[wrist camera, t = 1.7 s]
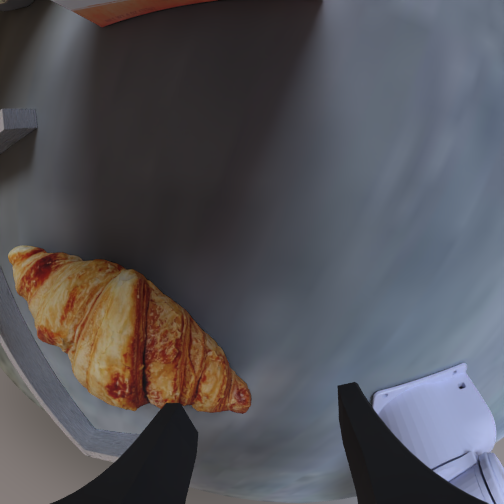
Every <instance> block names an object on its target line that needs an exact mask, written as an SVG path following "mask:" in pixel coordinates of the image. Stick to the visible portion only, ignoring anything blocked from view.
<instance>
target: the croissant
mask: <svg viewBox="0 0 504 504" xmlns="http://www.w3.org/2000/svg"><path fill="white" fill-rule="evenodd" d="M8 258H9V261H10V263H11V264H12V265H13V276H14V281H15V284H16V286H15V287H16V290H17V293H18V294H19V295H20V296H22V297H23V298H24V299H25V300H26V301H27V302H28V304H29V310H30V311H31V313H32V315H33V317H34V319H35V327H36V329H37V336H38V338H39V339H40V340H42V341H43V342H46V343H48V344H51V345H56V346H58V347H60V348H62V351H64V352H65V353H67V354H68V357H69V359H70V360H71V363H72V370H73V373H74V375H75V377H76V378H77V379H78V381H79V382H80V383H81V384H82V385H83V386H84V387H85V388H87V389H88V392H89V393H91V394H92V395H94V396H96V397H97V398H99V399H101V400H103V401H104V402H106V403H107V404H110V405H113V406H117V407H120V408H123V409H126V410H127V409H129V410H132V411H136V410H137V408H139V407H141V406H143V405H145V404H148V403H151V404H154V405H155V406H157V407H159V408H161V409H162V407H163V406H164V405H165V404H166V403H181V405H183V406H185V405H192V407H193V408H194V409H196V410H197V411H204V412H210V413H213V412H221V411H227V410H230V411H233V412H236V413H242V414H243V413H246V412H247V410H248V409H249V407H250V406H251V394H250V391H249V389H248V387H247V384H246V383H245V382H244V381H243V380H242V379H241V378H240V377H238V376H237V375H236V374H235V371H233V370H232V369H231V368H230V367H229V362H228V361H227V358H226V356H225V354H224V351H223V350H222V348H221V347H219V346H218V345H217V343H216V342H215V341H214V340H213V339H212V338H211V337H210V336H209V335H208V334H207V333H205V332H204V331H203V330H202V329H201V328H200V327H199V326H198V324H197V323H196V322H195V321H194V320H193V319H192V317H191V316H190V315H189V313H188V312H187V311H186V310H185V309H184V308H183V307H181V306H180V305H178V304H177V303H176V302H174V301H173V300H172V299H171V298H169V297H168V296H167V295H164V294H163V293H162V292H161V291H160V290H159V289H158V288H157V287H156V286H155V285H154V284H153V283H152V282H151V281H149V280H147V279H146V278H145V277H144V275H143V274H141V273H139V272H137V271H135V270H134V269H128V270H126V269H125V268H124V267H122V266H121V265H119V264H117V263H113V262H110V261H107V260H103V259H95V260H93V261H92V260H89V261H82V259H81V258H80V257H78V256H74V255H68V254H66V253H63V252H62V253H47V252H46V251H45V250H44V249H41V248H38V247H33V246H18V247H15V248H14V249H12V250H11V251H10V253H9V254H8Z"/></svg>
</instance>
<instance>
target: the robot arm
mask: <svg viewBox="0 0 504 504" xmlns="http://www.w3.org/2000/svg"><path fill="white" fill-rule="evenodd" d="M466 369H467V365H466V363H462V364H459V365H457V366H454V367H452V368H449V369H446V370H444V371H441V372H438V373H435V374H433V375H430V376H427V377H424V378H421V379H418V380H415V381H412V382H408V383H405V384H402V385H398V386H395V387H392V388H388V389H384V390H381V391H378V392H376V393H375V394H374V395H373V404H372V406H371V405H370V403H369V402H368V400H367V399H366V397H365V396H364V394H363V392H362V391H361V389H360V387H359V385H358V384H357V383H355V382H353V383H348V384H344V385H339V386H338V405H339V422H340V428H341V434H342V440H343V445H344V448H345V452H346V456H347V459H348V463H349V467H350V470H351V474H352V478H353V482H354V485H355V489H356V494H357V499H358V504H504V468H503V466H502V464H501V462H500V461H499V459H498V457H497V456H496V455H495V454H494V453H490V452H491V451H492V449H493V447H494V444H495V440H496V426H495V421H494V418H493V415H492V413H491V411H490V409H489V408H488V406H487V404H486V403H485V401H484V400H483V398H482V396H481V395H480V393H479V392H478V390H477V389H476V387H475V385H474V384H473V382H472V381H471V379H470V378H469V376H468V375H467V373H466ZM197 442H198V432H197V430H196V429H195V427H194V425H193V424H192V422H191V420H190V419H189V417H188V415H187V414H186V412H185V410H184V408H183V407H182V405H181V403H166V404H165V405H164V406H163V407H162V409H161V410H160V411H159V412H158V413H157V415H156V416H155V417H154V418H153V420H152V421H151V422H150V423H149V425H148V426H147V427H146V428H145V430H144V431H143V432H142V433H141V434H140V435H139V437H138V438H137V439H136V440H135V441H134V442H133V444H132V445H131V446H130V447H129V448H128V449H127V450H126V451H125V452H124V453H123V454H122V455H121V456H120V457H119V458H118V459H117V460H116V461H115V462H114V463H113V464H112V465H111V466H110V467H109V468H108V469H106V470H105V471H104V472H103V473H102V474H100V475H99V476H98V477H97V478H95V479H94V480H92V481H91V482H89V483H88V484H87V485H85V486H84V487H82V488H81V489H79V490H77V491H76V492H74V493H72V494H70V495H68V496H66V497H65V498H63V499H60V500H58V501H56V502H53V503H51V504H185V501H186V496H187V492H188V488H189V484H190V480H191V476H192V472H193V467H194V463H195V458H196V453H197Z"/></svg>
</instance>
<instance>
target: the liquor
mask: <svg viewBox="0 0 504 504" xmlns="http://www.w3.org/2000/svg"><path fill="white" fill-rule="evenodd" d="M33 1H34V0H0V10H2V11H9V10H13V9H18V8H22V7H26V6H29V5H30V4H31V3H32V2H33Z"/></svg>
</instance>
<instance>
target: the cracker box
mask: <svg viewBox="0 0 504 504" xmlns="http://www.w3.org/2000/svg"><path fill="white" fill-rule="evenodd" d="M51 1H53V2H55V3H57V4H59V5H61V6H63V7H65V8H67V9H69V10H71V11H73V12H75V13H77V14H78V15H80V16H82V17H84V18H86V19H88V20H90V21H92V22H93V23H95V24H97V25H99V26H100V27H105V26H107V25H110V24H113V23H116V22H119V21H122V20H125V19H129V18H132V17H136V16H139V15H143V14H147V13H151V12H154V11H159V10H163V9H168V8H172V7H177V6H183V5H189V4H195V3H202V2H209V1H216V0H51Z"/></svg>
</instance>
